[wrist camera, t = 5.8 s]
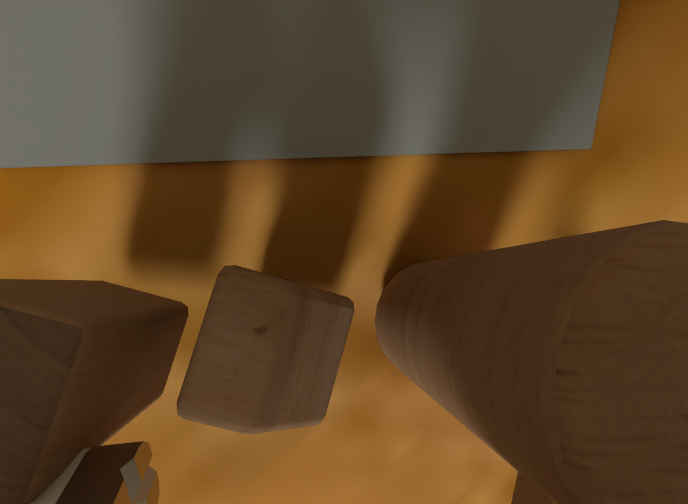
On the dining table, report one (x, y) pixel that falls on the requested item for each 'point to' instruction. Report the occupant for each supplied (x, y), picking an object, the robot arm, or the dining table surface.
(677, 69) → the dining table surface
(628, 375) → the wooden block set
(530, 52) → the mat
